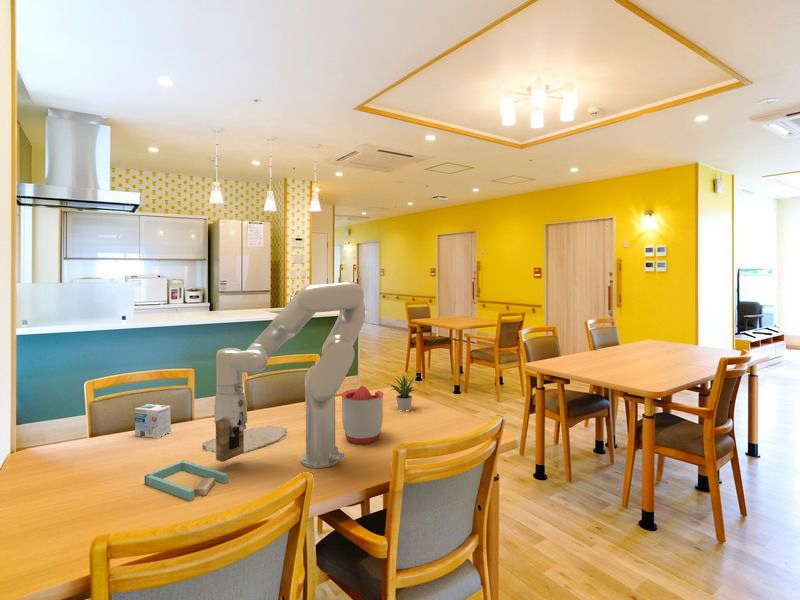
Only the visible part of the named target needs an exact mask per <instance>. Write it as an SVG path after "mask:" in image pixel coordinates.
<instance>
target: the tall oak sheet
mask: <svg viewBox="0 0 800 600" xmlns="http://www.w3.org/2000/svg"><path fill="white" fill-rule="evenodd" d="M234 430H236V428H234ZM244 431H245V430H243V431H242V432H241V433H240V435H239V447H237V448H234V449H232V450H231V449H230V442H229V437H230V436H231V431H230V427H229V426H228V423H227V421H224V420H218V421H216V424H215V438H216V453H215V460H216V461H218V462H222V463H224V462H226V461H229V460H231V459H234V458H235V457H239V455H242V454H243V455H244V454H245V453H244Z"/></svg>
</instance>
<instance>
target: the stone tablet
mask: <svg viewBox="0 0 800 600" xmlns="http://www.w3.org/2000/svg"><path fill="white" fill-rule="evenodd" d="M286 432H287V428H286V427H283V426H274V425H267V426H263V427H251V428H246V429H245V430H244V453H243V454H246V453H250V452H252V451H255V450H258V449H263V448H265V447H268V446H270V445H273V444H276V443H280V442H281V441H283V440H285V439H286V438H287V433H286ZM201 446H202V447H201V448H202V450H204V449H206V450H205V451H206V452H210V453H214V454H216V437H215V438H211V439H209V440H207V441H205V442H202V445H201Z"/></svg>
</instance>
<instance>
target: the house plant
mask: <svg viewBox="0 0 800 600" xmlns="http://www.w3.org/2000/svg"><path fill="white" fill-rule="evenodd" d="M417 377H419V375H416V376H413V377H412V376H410V377H409V378H407V377H406V375H404V374H402V379H401V378H400V377H398V376H397V378H395V377H391V378H392V379H393V381H394V380H395V382H396V383H397V385H398V386H396V385H394V384H392V383H387V385H388V386H391V387H392V388H391V389H390V390H389V391H390V392H391V391H396V392H397V393H398V394H399V395H396V402H397V409H399V410H402V411H406V410H410V411H411V406H412V400H413V396H412V395H410V394H411V393H412V392H413V391H415V392H416V390H415V389H414V387H413V386H412V384H413V383H415V382H416V380H415V379H417ZM399 410H398V411H399Z"/></svg>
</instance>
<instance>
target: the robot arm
mask: <svg viewBox="0 0 800 600" xmlns="http://www.w3.org/2000/svg"><path fill="white" fill-rule="evenodd" d="M364 298H365V293H364V289H363V287H362V286H361V285H360V284H358V283H357V282H354V281H349V280H347V281H342V282H337V283H327V284H325V283H324V284H312V283H310V284H306V285H304V286H303V287H302V288H300V290H299V291H298V292H297V293H296V294H295V295H294V296H293V298H292V299H290V301H289V302H288V303H287V304H286V305H285V306H284V308H283V309H281V311H279V313H278V314H277V315H276V316H275V317H274V318H273V319H272V321H271V322H270V323H269V324H268V326H267V327H266V328H265V329H264V330H263V331H262V332H261V334H260V335H258V336H257V338H256V339H254V341H253V342H252V343H251V344H250V345H249V346H248V347H247V349H246V350H242V349H240V348H238V347H236V348H235V347H226V348H221V349H219V350H217V352H216V354H215V355H216V356H215V357H216V359H215V362H216V369H215V370H216V392H215V398H214V399H215V400H214V409H213V410H214V411H213V412H214V413H213V417H214V419H213V420H214V421H213V422H214V424H215V425H216V421H218V420H224V421H227V423H228V426H229V427H230V431H231V436H230V437H229V442H230V449H231V450H232V449H234V448H237V447H239V435H240V433H241V432H242V431H243V430H244V431H245V430H247V425H246V424H247V423H248V409H247V399H246V395H245V392H244V391H243V390H244V387H243V385H244V384H243V380H244V379H243V377H244V376H243V375H244V373H246V374H247V373H248V374H258V373H261V372H263V371H264V370H265V369H266V368H267V365H268V362H269V360H270V358H271V357H272V356H273V355H274V354H275V353H276V352H277V350H279V349H280V347H281V346H283V344H285V343H286V342H287V341H288V340H291V339H292V338H294V337H295V336H296V335H297V334H298V333H299V332H300V331H301V330H302V329H303V328H304V327H305V325H306V324H308V322H309V321H310V320H311V319H312V317H314V316H315V314H317V313H328V312H335V311H337V312H338V311H339V314H338V316H337V319H336V321H335V323H334V324H333V325H334V326H333V327H332V329H331V331H330V333H329V334H328V336H327V337H326V339H325V341H324V342H323V344H322V347H321V356H320V358H319V361H318V362H317V363H316V364H313V365H312V366H311V367H309V368H308V370H307V371H306V373H305V376H304V393H305V394H304V396H305V398H304V399H305V453H304V454H303V455H302V456H301V457H300V458H301V459H300V461H301V464H302V465H303V466H305V467H308V468H313V469H322V468H323V469H324V468H328V467H333V466H335V465H336V464H338V463H342V462H343V460H344V457H345V453H344V452H339V446H336V394H337V393H338V391H339V389H340V388H341V386H342V384H343V382H344V380H345V378H346V376H347V374H348V372H349V371H350V368H351V366H352V365H353V362H354V358H355V348H354V347H353V346H354V345H355V342H356V341H357V338H358V337H359V334H360V332H361V330H362V328H363V326H364V322H365V318H366V307H365V306H366V305H365V302H364ZM234 428H236V430H234Z"/></svg>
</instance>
